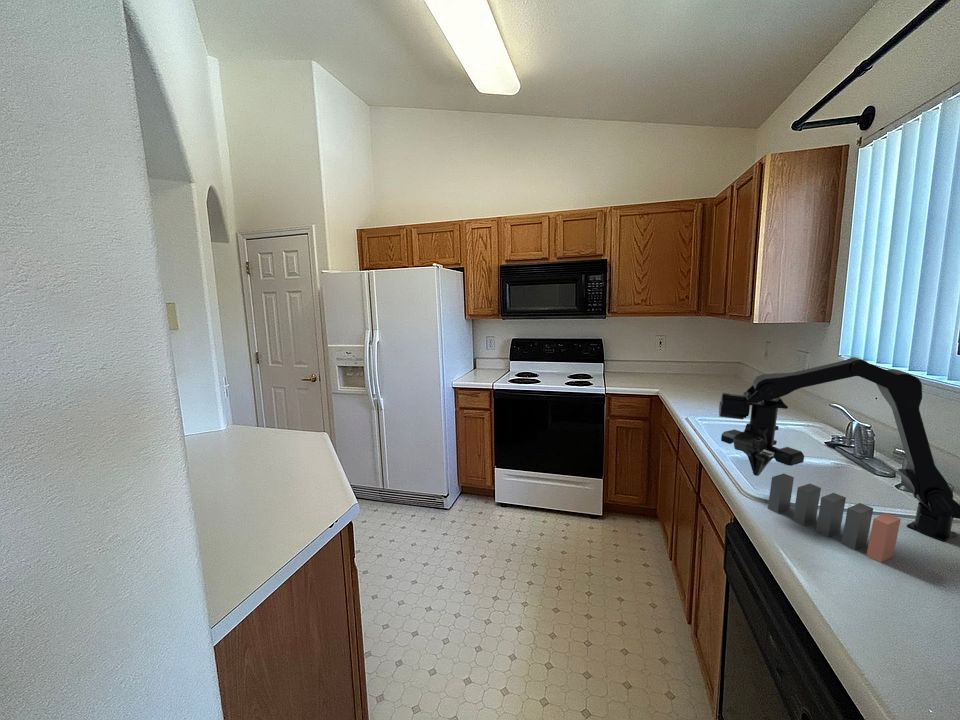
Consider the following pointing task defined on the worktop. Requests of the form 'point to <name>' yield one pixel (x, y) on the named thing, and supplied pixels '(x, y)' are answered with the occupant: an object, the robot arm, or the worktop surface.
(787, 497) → the domino
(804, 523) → the domino
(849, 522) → the domino
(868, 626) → the worktop surface
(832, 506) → the domino
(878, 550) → the red domino
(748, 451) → the robot arm
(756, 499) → the worktop surface
